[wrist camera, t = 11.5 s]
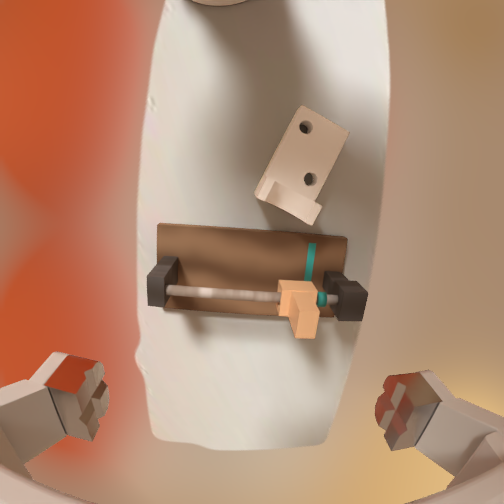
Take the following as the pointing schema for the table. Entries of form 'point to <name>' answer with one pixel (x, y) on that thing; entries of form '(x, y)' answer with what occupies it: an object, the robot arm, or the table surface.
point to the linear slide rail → (249, 270)
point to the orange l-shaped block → (299, 306)
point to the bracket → (301, 164)
